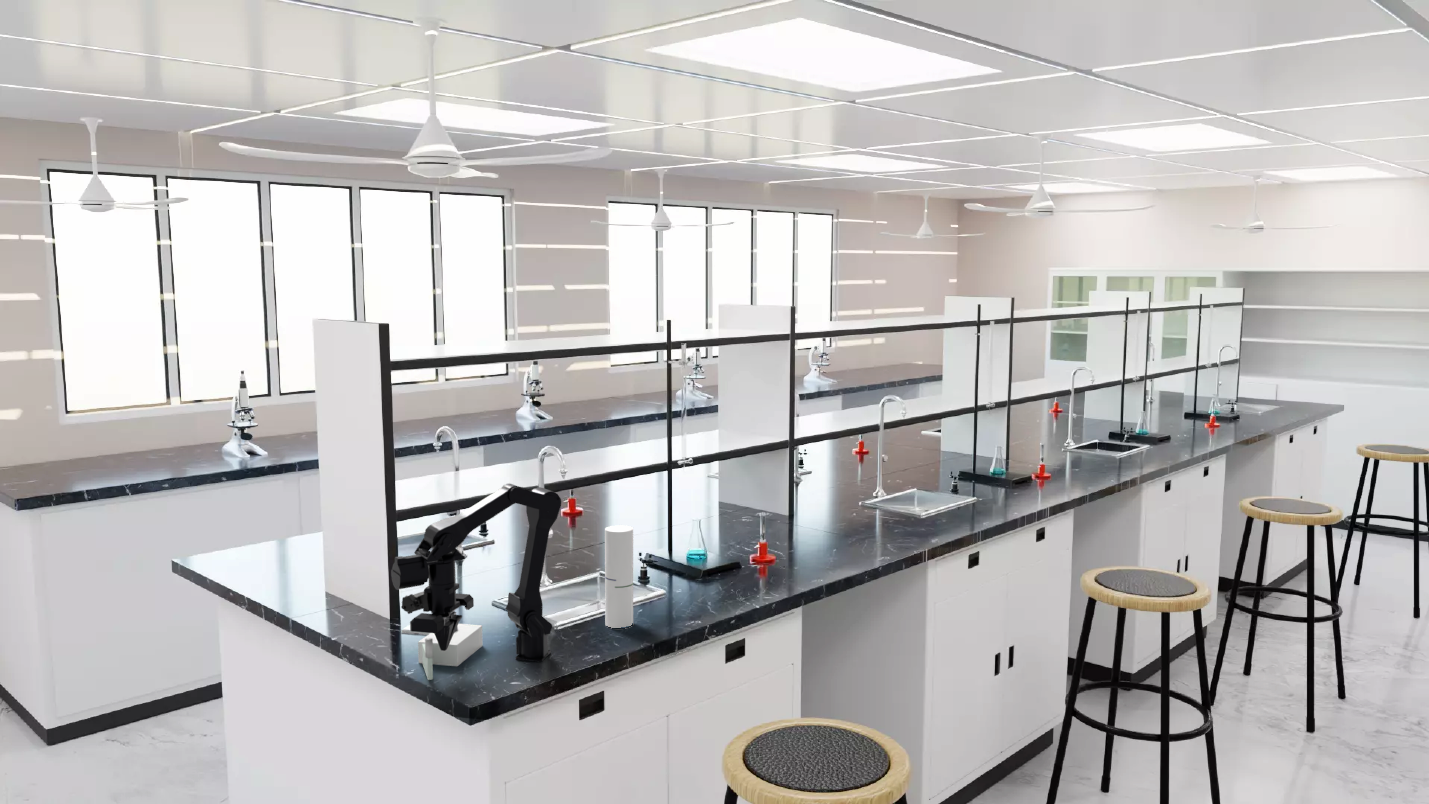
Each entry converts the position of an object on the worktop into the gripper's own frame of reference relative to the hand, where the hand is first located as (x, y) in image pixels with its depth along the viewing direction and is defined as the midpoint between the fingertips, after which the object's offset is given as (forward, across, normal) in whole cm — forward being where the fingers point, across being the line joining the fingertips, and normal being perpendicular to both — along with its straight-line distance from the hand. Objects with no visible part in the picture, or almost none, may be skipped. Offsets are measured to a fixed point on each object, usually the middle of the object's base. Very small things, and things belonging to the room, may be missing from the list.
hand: (443, 650), depth 221 cm
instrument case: (+6, -13, -5) cm, 15 cm away
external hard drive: (+7, -30, -20) cm, 36 cm away
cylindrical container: (+6, -42, +27) cm, 50 cm away
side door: (+6, -1, -5) cm, 7 cm away
